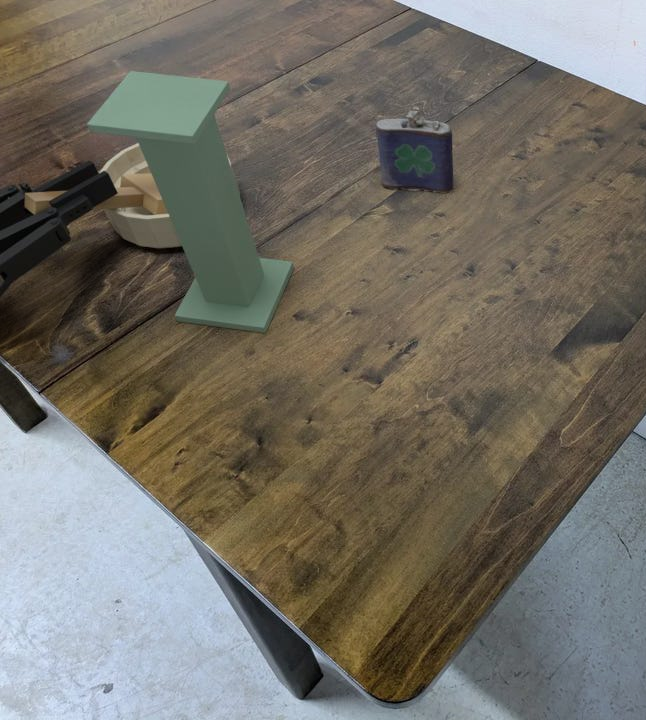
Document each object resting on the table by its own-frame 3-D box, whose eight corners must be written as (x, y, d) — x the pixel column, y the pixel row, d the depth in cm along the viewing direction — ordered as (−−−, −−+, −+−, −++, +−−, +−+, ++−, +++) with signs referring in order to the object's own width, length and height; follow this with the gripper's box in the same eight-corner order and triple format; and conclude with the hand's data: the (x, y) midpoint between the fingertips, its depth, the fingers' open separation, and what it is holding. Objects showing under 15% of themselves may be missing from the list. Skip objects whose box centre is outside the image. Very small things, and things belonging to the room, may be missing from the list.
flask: (380, 189, 92) (372, 115, 84) (384, 174, 94) (377, 100, 86) (452, 194, 92) (451, 121, 83) (455, 180, 94) (454, 106, 85)
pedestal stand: (177, 321, 78) (80, 123, 59) (211, 257, 84) (134, 57, 65) (265, 333, 78) (198, 136, 58) (294, 267, 84) (242, 69, 64)
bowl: (91, 245, 85) (71, 209, 81) (146, 165, 94) (131, 129, 90) (214, 261, 84) (201, 225, 80) (258, 178, 93) (248, 142, 89)
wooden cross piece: (11, 196, 76) (11, 178, 75) (165, 187, 90) (166, 172, 89) (48, 226, 73) (48, 207, 72) (200, 211, 87) (202, 196, 86)
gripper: (-129, 289, 73) (78, 176, 85) (-54, 365, 68) (157, 233, 79) (-182, 234, 67) (49, 120, 79) (-104, 312, 62) (132, 177, 73)
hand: (103, 177), depth 79 cm, fingers closed on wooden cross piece, 2 cm apart
